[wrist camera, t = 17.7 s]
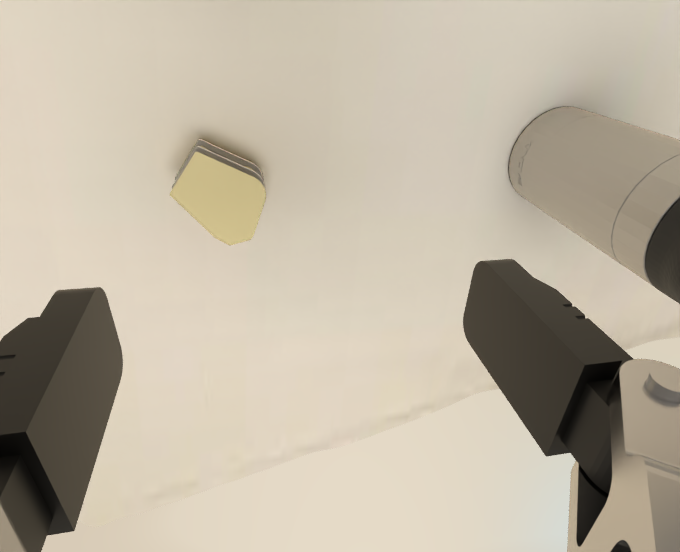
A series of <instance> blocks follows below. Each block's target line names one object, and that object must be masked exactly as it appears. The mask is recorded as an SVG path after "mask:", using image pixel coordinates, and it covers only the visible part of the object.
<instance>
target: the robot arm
mask: <svg viewBox="0 0 680 552" xmlns="http://www.w3.org/2000/svg"><path fill="white" fill-rule="evenodd" d="M509 176H510V180H511V183H512V186H513V187H514V189H515V190H516V192H517V193H519V194H520V195H521V196H522V197H523V198H525V199H526V200H528V201H529V202H531V203H532V204H534V205H535V206H537V207H538V208H539V209H541V210H542V211H544V212H545V213H546V214H548V215H549V216H551V217H552V218H554V219H555V220H557V221H558V222H560V223H561V224H563V225H564V226H566V227H567V228H569V229H570V230H571V231H573V232H574V233H576V234H577V235H579V236H580V237H582V238H583V239H585V240H586V241H588V242H589V243H591V244H592V245H594V246H595V247H597V248H598V249H599V250H601V251H602V252H604V253H605V254H607V255H608V256H610V257H611V258H613V259H614V260H616V261H617V262H619V263H620V264H622V265H623V266H625V267H626V268H628V269H629V270H631V271H632V272H634V273H635V274H637V275H638V276H639V277H641V278H642V279H644V280H645V281H647V282H648V283H650V284H651V285H653V286H654V287H655V288H657V289H658V290H660V291H661V292H663V293H664V294H666V295H667V296H669V297H670V298H672V299H673V300H675V301H676V302H678V303H680V140H678V139H675V138H672V137H669V136H666V135H662V134H659V133H656V132H653V131H650V130H646V129H643V128H640V127H637V126H634V125H630V124H627V123H624V122H621V121H618V120H614V119H611V118H608V117H606V116H602V115H599V114H596V113H592V112H589V111H586V110H582V109H579V108H576V107H560V108H555V109H552V110H550V111H548V112H546V113H544V114H542V115H541V116H539V117H538V118H536V119H535V120H534V121H533V122H532V123H531V124H530V125H529V126H527V127H526V129H525V130H524V131H523V133H522V134H521V135H520V137H519V138H518V140H517V142H516V144H515V146H514V148H513V151H512V154H511V157H510V163H509ZM463 326H464V332H465V336H466V338H467V341H468V342H469V344H470V345H471V347H472V348H473V350H474V351H475V353H476V354H477V356H478V357H479V359H480V360H481V362H482V363H483V364H484V366H485V367H486V369H487V370H488V372H489V373H490V375H491V376H492V378H493V379H494V381H495V382H496V384H497V385H498V387H499V388H500V389H501V391H502V392H503V394H504V395H505V396H506V398H507V400H508V401H509V403H510V404H511V406H512V407H513V409H514V410H515V411H516V413H517V414H518V416H519V417H520V419H521V420H522V422H523V423H524V425H525V426H526V428H527V429H528V430H529V432H530V433H531V435H532V436H533V438H534V439H535V441H536V442H537V444H538V445H539V447H540V448H541V450H542V451H543V453H544V454H545V455H546V456H552V455H558V454H564V453H571V454H572V455H573V457H574V458H575V459H576V462H575V464H574V466H573V468H572V471H571V484H570V504H569V526H568V546H567V552H680V369H678V368H676V367H674V366H671V365H669V364H666V363H663V362H659V361H655V360H648V359H633V358H632V357H631V356H630V355H628V354H627V353H626V352H625V351H624V350H623V349H622V348H621V347H620V346H618V345H617V344H616V343H615V342H614V341H613V340H612V339H611V338H610V337H608V336H607V335H606V334H605V333H604V332H603V331H602V330H601V329H600V328H598V327H597V326H596V325H595V324H594V323H593V322H592V321H591V320H590V319H588V318H587V319H585V315H584V314H583V313H582V312H581V311H580V310H578V309H577V308H576V307H572V303H571V302H570V301H568V300H567V299H566V298H565V297H564V296H563V295H562V294H561V293H560V292H558V291H557V290H556V289H554V288H552V287H550V286H549V285H547V284H545V283H543V282H541V281H539V280H537V279H535V278H533V277H532V276H531V275H530V274H529V273H528V272H527V271H526V270H525V269H524V268H523V267H521V266H520V265H519V264H518V263H517V262H516V261H515V260H513V259H504V260H490V261H480V262H478V263H477V264H476V266H475V268H474V271H473V276H472V280H471V285H470V289H469V294H468V298H467V303H466V307H465V312H464V317H463ZM122 367H123V359H122V350H121V346H120V342H119V339H118V335H117V332H116V328H115V325H114V321H113V317H112V314H111V310H110V307H109V303H108V300H107V297H106V294H105V292H104V290H103V289H102V288H100V287H97V288H83V289H68V290H58V291H56V292H55V293H54V295H53V296H52V298H51V300H50V301H49V303H48V304H47V306H46V308H45V309H44V311H43V312H42V314H41V316H40V317H35V318H28V319H26V320H25V321H24V322H22V323H21V324H20V325H18V326H17V327H16V328H14V329H13V330H12V331H10V332H9V333H8V334H6V335H5V336H4V337H3V338H2V340H1V341H0V552H41V550H42V547H43V545H44V542H45V539H46V536H47V535H53V534H59V533H65V532H71V531H74V530H75V527H76V523H77V520H78V517H79V514H80V511H81V507H82V504H83V501H84V497H85V494H86V491H87V488H88V484H89V481H90V478H91V475H92V471H93V468H94V465H95V462H96V458H97V455H98V452H99V448H100V445H101V442H102V439H103V435H104V432H105V429H106V426H107V422H108V419H109V416H110V412H111V409H112V406H113V403H114V399H115V396H116V393H117V390H118V386H119V383H120V380H121V376H122Z"/></svg>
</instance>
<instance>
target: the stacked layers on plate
mask: <svg viewBox="0 0 680 552" xmlns="http://www.w3.org/2000/svg"><path fill="white" fill-rule="evenodd" d="M175 180H176V181H175V183H174V184H173V186H172V191H171V192H170V196H171V197H172V198H174V199H175V200H176V201H177V202H178V203H179V204H180V205H181V206H182V207H183V208H184V209H185V210H186V211H187V212H188V213H189V214H190V215H191V216H192V217H193V218H195V219H196V220H197V221H198V222H199V223H200V224H201V225H202V226H203V227H204V228H205V229H206V230H207V231H208V232H209V233H210V234H211V235H212V236H213V237H215V238H216V239H218V240H220V241H222V242H224V243H226V244H228V245H233V244H237V243H241V242H244V241H248V240H251V238H252V237H253V235H254V232H255V229H256V226H257V223H258V220H259V218H260V215H261V212H262V209H263V206H264V203H265V199H266V192H265V185H264V179H263V174H262V172H261V170H260V169H259V167H258V166H257V165H255V164H254V163H252V162H251V161H249V160H246V159H243V158H241V157H239V156H237V155H235V154H232V153H230V152H228V151H226V150H224V149H222V148H219V147H217V146H215V145H213V144H211V143H209V142H206V141H205V140H202V139H199V140H198V141H197V143H196V144H195V146H194V148H193V149H192V151H191V153H190V154H189V156H188V157H187V159H186V161H185V162H184V164H183V166H182V167H181V169H180V171H179V172H178V174H177V176H176V177H175Z"/></svg>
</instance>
